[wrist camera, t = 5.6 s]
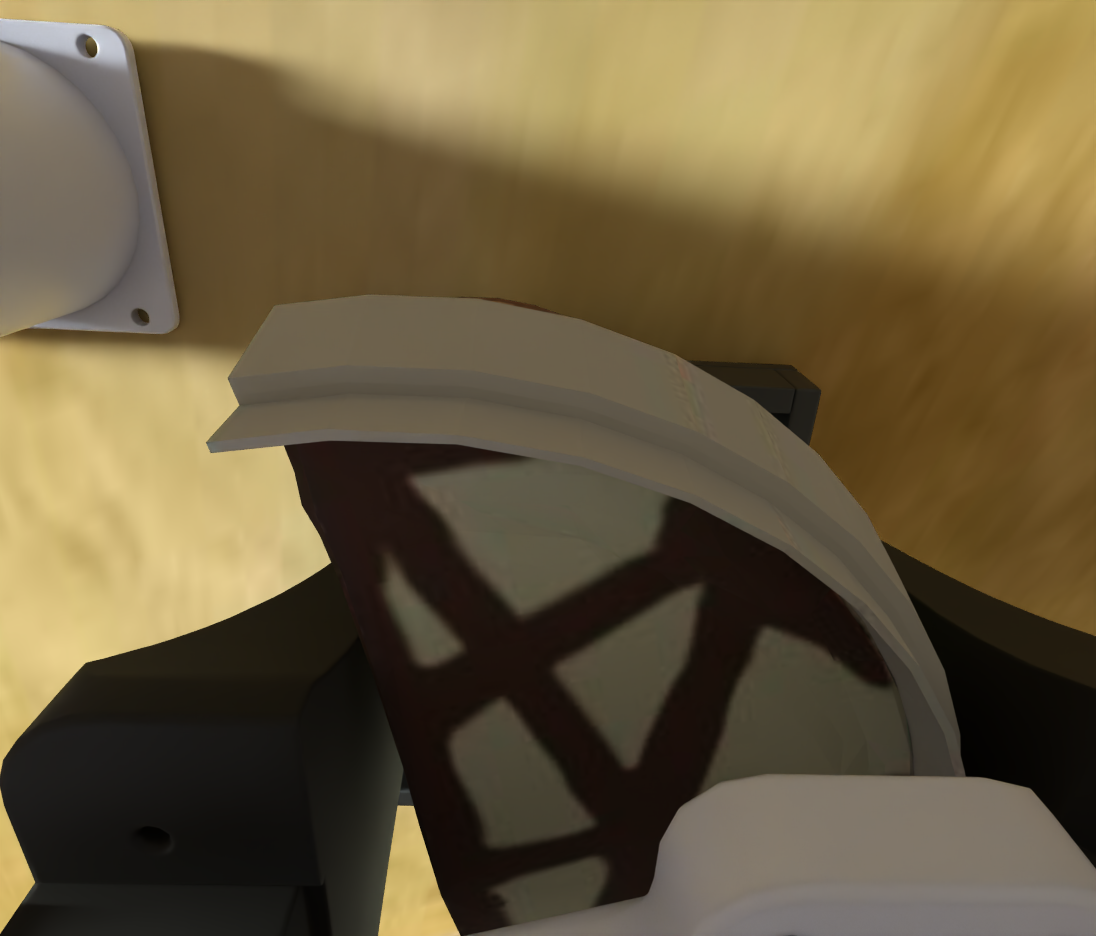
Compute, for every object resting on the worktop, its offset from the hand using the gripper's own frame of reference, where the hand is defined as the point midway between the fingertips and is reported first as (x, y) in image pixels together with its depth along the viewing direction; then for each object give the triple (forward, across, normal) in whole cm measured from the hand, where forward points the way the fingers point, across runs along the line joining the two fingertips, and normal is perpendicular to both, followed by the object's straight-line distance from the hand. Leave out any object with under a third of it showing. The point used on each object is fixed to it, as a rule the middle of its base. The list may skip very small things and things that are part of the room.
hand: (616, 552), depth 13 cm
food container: (+3, 0, 0) cm, 3 cm away
